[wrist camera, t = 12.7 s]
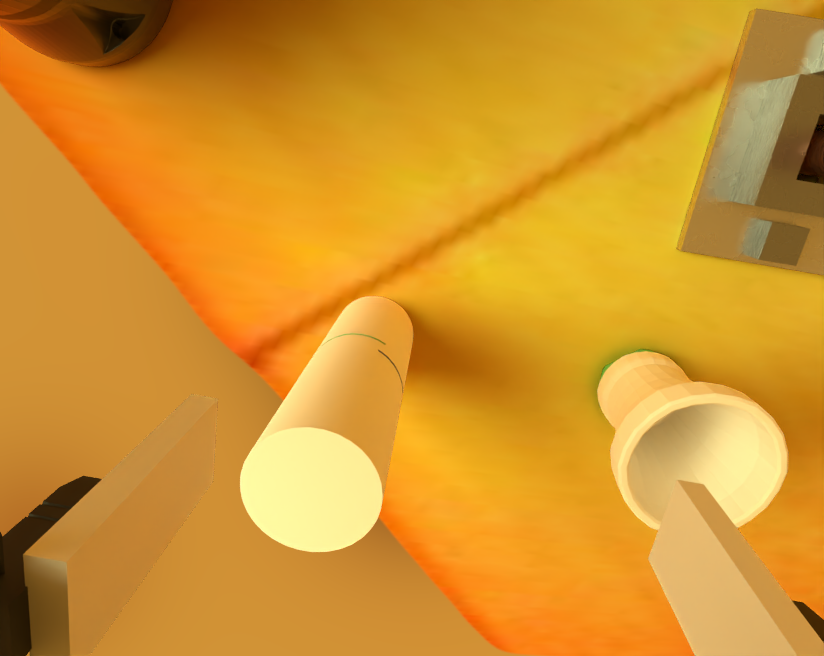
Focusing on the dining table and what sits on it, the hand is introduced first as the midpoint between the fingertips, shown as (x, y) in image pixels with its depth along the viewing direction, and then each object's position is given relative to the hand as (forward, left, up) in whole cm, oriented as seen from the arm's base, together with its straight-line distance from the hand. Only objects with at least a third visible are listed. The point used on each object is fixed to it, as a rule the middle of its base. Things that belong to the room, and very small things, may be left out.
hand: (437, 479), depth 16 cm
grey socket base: (+26, +13, -35) cm, 45 cm away
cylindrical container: (-5, -8, -35) cm, 36 cm away
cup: (+19, -9, -35) cm, 41 cm away
